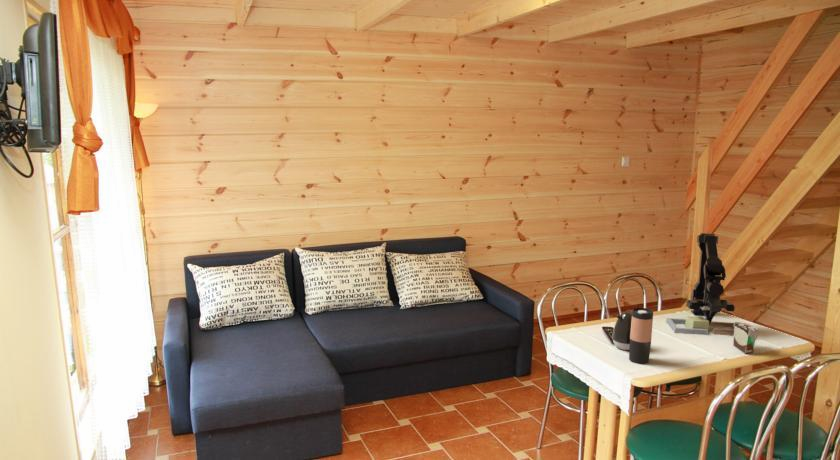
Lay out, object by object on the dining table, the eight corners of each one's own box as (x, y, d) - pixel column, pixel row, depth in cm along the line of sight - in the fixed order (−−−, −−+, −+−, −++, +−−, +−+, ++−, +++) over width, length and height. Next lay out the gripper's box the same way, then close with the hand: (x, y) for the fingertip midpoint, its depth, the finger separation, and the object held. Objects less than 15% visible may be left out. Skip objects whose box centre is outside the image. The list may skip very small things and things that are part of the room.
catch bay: (666, 321, 273) (666, 317, 273) (696, 323, 271) (697, 319, 271) (674, 332, 258) (675, 328, 258) (707, 334, 256) (707, 330, 256)
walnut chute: (704, 325, 269) (705, 321, 269) (742, 327, 267) (742, 323, 266) (713, 334, 257) (713, 329, 257) (752, 336, 255) (753, 332, 255)
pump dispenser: (605, 345, 242) (608, 309, 240) (626, 342, 246) (629, 307, 243) (622, 353, 233) (625, 317, 230) (643, 350, 236) (646, 314, 234)
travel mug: (644, 356, 230) (648, 307, 227) (652, 364, 223) (657, 313, 219) (625, 356, 230) (629, 307, 227) (632, 364, 222) (636, 313, 219)
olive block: (684, 326, 267) (686, 316, 266) (700, 326, 267) (701, 316, 266) (692, 332, 260) (693, 321, 259) (708, 332, 260) (709, 321, 259)
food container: (762, 356, 233) (765, 331, 231) (746, 355, 233) (749, 331, 231) (746, 344, 245) (748, 321, 243) (731, 344, 245) (733, 321, 243)
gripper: (695, 294, 254) (691, 328, 256) (741, 296, 251) (737, 331, 254) (687, 287, 265) (684, 320, 267) (731, 289, 262) (728, 323, 265)
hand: (708, 324), depth 263 cm, fingers closed
